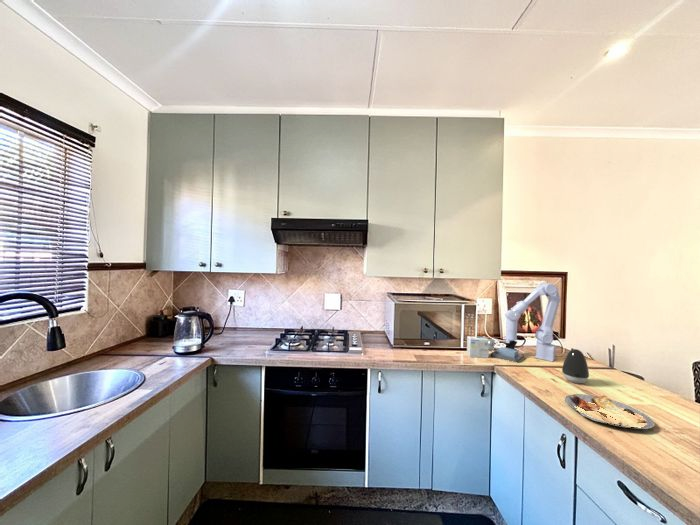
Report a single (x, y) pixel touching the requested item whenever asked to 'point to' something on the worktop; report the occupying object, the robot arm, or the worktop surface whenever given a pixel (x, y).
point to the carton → (508, 352)
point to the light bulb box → (477, 347)
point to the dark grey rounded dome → (575, 367)
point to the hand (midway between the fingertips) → (510, 353)
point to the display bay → (496, 355)
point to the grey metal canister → (491, 344)
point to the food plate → (605, 407)
